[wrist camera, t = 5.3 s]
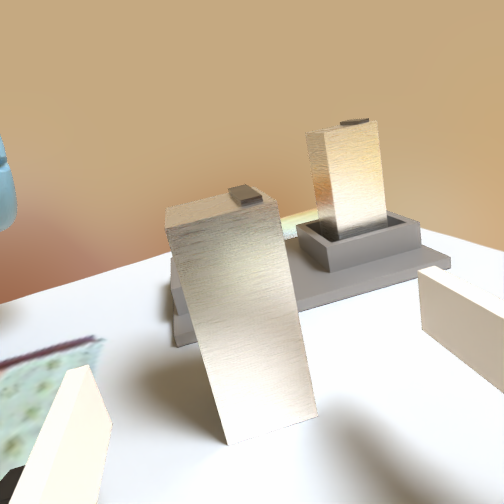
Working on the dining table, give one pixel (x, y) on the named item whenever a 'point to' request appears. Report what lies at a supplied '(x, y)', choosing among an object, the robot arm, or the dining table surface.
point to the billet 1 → (243, 310)
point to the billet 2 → (347, 179)
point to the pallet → (337, 266)
